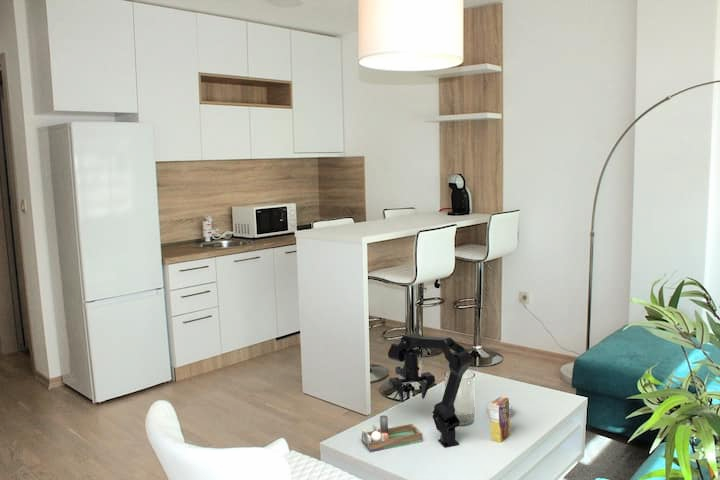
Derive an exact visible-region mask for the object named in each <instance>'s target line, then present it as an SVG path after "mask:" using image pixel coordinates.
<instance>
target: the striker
mask: <svg viewBox="0 0 720 480" xmlns="http://www.w3.org/2000/svg"><path fill="white" fill-rule="evenodd" d="M379 426H380V428H377V430H378V432H380V433H381V434H384V440H385V439H388V434H387V432H388V428H389V421H388V416H387V415H380V416H379Z"/></svg>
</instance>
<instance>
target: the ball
mask: <svg viewBox="0 0 720 480" xmlns="http://www.w3.org/2000/svg"><path fill="white" fill-rule="evenodd" d="M371 440H372V441H373V442H375V441H380V440H381V433H380V432H378V431H375V432H373V433H372V434H371Z"/></svg>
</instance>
